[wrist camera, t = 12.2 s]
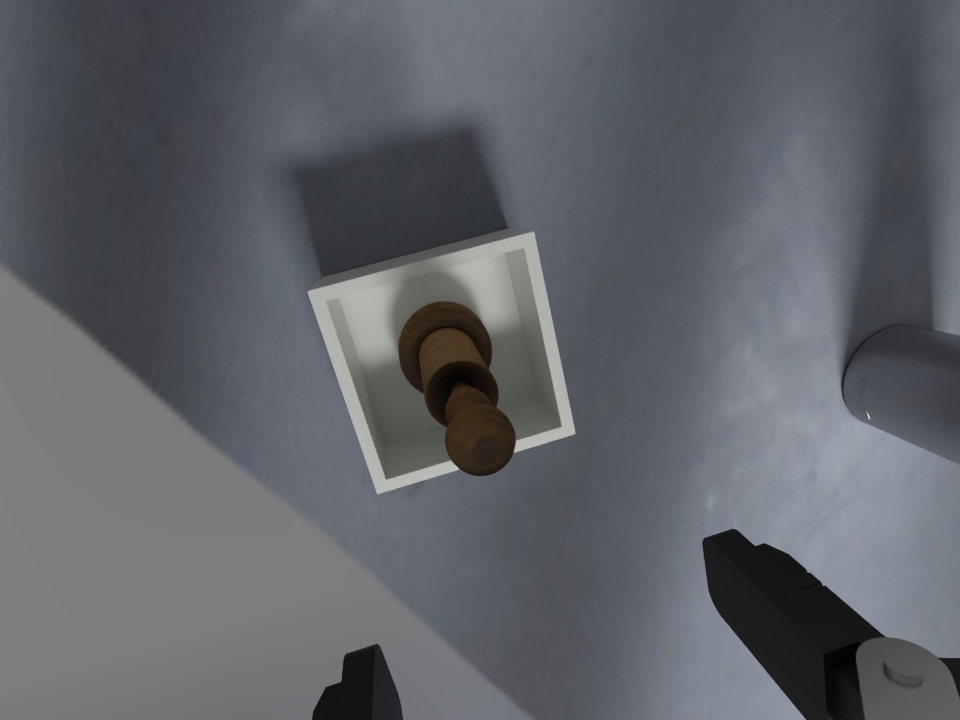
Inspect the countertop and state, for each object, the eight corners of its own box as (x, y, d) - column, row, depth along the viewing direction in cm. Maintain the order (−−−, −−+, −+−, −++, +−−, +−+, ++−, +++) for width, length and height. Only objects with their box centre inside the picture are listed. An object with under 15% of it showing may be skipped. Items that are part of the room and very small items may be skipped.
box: (508, 228, 38) (533, 231, 31) (545, 399, 42) (575, 433, 35) (321, 277, 37) (307, 291, 30) (379, 448, 41) (377, 494, 34)
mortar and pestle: (397, 301, 37) (403, 377, 20) (488, 300, 38) (568, 371, 21) (399, 391, 39) (407, 532, 22) (486, 387, 40) (559, 519, 23)
